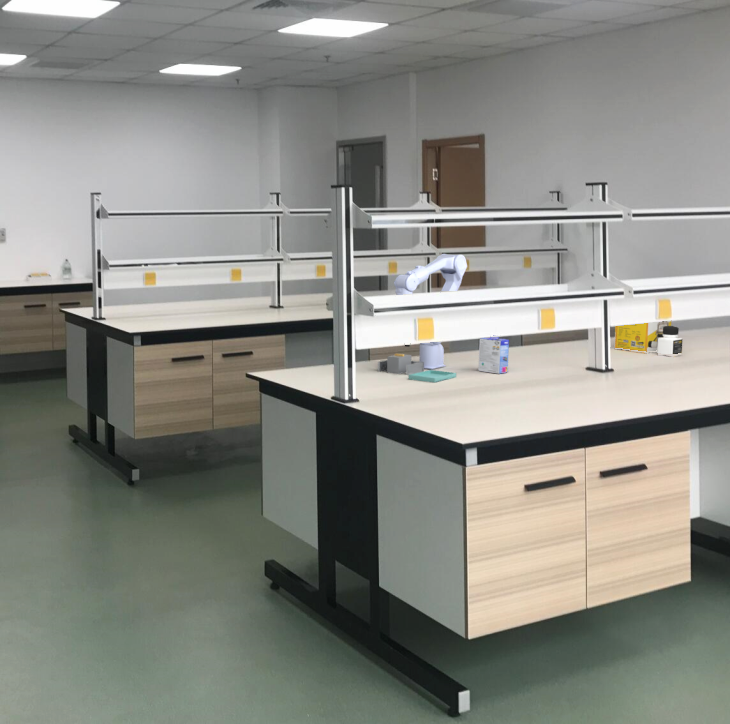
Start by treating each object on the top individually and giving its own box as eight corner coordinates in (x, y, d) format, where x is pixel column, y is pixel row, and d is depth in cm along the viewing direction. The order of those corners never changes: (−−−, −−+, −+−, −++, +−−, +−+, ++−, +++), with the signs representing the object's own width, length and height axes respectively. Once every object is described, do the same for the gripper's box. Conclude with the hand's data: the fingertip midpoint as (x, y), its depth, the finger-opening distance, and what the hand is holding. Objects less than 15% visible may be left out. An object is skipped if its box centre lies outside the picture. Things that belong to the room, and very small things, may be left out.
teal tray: (430, 374, 347) (430, 369, 347) (456, 377, 341) (456, 372, 340) (408, 379, 336) (408, 374, 336) (434, 382, 330) (434, 378, 329)
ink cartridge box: (509, 372, 351) (510, 332, 348) (499, 374, 347) (500, 334, 344) (487, 369, 357) (488, 330, 355) (477, 371, 354) (478, 331, 351)
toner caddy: (399, 370, 356) (400, 352, 355) (411, 371, 353) (411, 353, 352) (387, 372, 350) (387, 354, 349) (398, 374, 347) (398, 356, 346)
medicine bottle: (672, 357, 389) (674, 327, 387) (656, 355, 394) (658, 326, 392) (681, 355, 393) (683, 326, 392) (666, 353, 399) (667, 324, 397)
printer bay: (393, 367, 360) (393, 358, 360) (423, 371, 352) (423, 362, 352) (377, 371, 353) (377, 361, 352) (408, 375, 344) (408, 365, 344)
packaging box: (637, 346, 421) (640, 288, 417) (669, 350, 408) (673, 291, 405) (614, 349, 411) (616, 290, 407) (646, 353, 398) (649, 293, 395)
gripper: (380, 305, 350) (375, 342, 350) (413, 308, 341) (408, 347, 342) (391, 306, 355) (386, 343, 356) (424, 310, 347) (419, 348, 347)
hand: (398, 345), depth 349 cm, fingers open, 7 cm apart
